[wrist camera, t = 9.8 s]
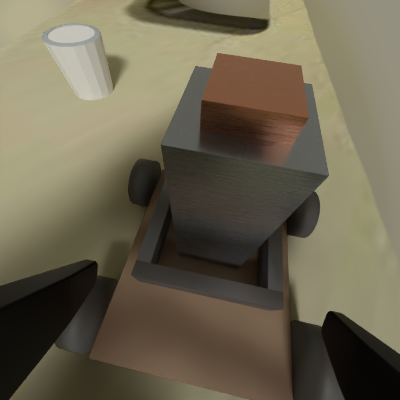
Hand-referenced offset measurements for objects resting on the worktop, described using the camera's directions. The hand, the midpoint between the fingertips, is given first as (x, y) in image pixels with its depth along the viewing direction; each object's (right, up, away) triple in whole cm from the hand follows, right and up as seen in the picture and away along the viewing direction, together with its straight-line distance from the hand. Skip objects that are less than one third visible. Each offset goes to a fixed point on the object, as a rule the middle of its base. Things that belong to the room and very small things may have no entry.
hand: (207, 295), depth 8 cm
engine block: (+1, +1, +10) cm, 10 cm away
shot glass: (-17, +21, +23) cm, 35 cm away
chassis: (0, -2, +10) cm, 10 cm away
